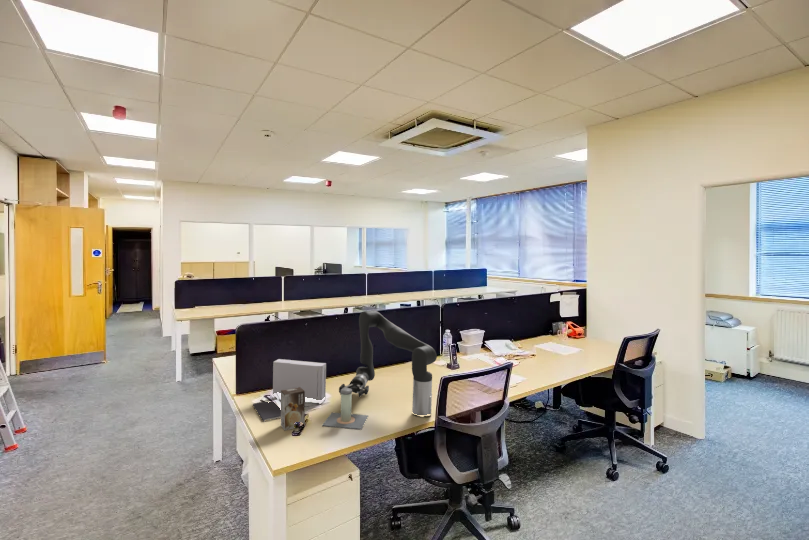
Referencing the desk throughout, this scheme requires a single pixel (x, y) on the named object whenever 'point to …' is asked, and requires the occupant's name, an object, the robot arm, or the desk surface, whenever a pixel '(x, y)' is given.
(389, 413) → the desk surface
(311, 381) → the game console
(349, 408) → the tube
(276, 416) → the notebook
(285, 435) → the desk surface
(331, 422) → the card
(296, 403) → the coffee box
